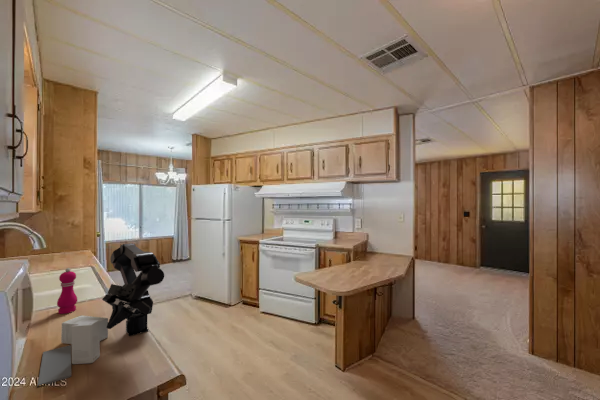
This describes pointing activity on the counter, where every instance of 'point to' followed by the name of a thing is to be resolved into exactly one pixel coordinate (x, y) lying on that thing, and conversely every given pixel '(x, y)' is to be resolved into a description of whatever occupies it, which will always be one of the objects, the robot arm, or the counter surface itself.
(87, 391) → the counter surface
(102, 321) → the supplement box
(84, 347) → the skincare box
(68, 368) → the rubber mat
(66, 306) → the pepper mill
